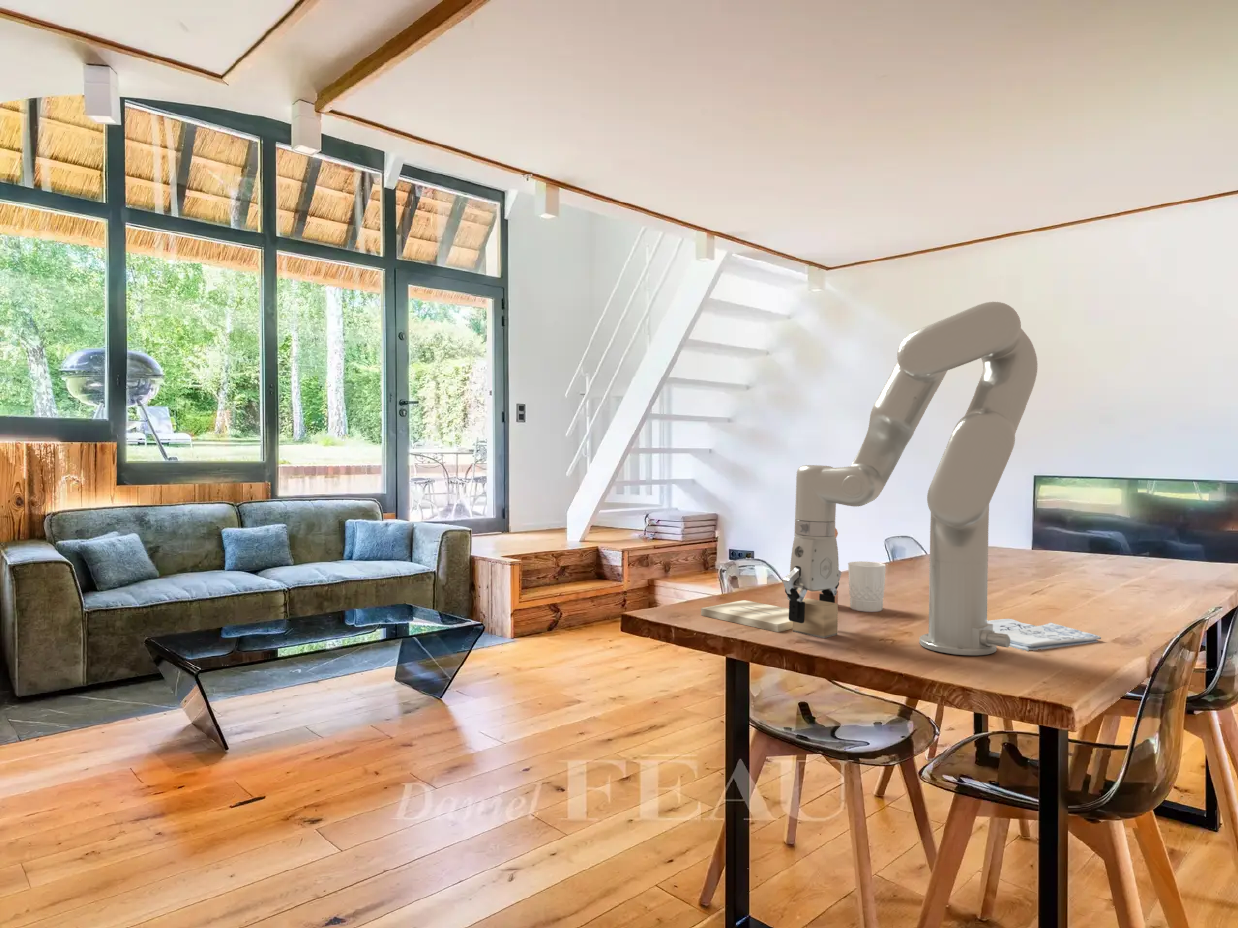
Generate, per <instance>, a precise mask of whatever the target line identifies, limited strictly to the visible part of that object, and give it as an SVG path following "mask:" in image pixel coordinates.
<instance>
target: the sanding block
mask: <svg viewBox="0 0 1238 928" xmlns="http://www.w3.org/2000/svg"><path fill="white" fill-rule="evenodd" d="M802 602H805V620H804V623H797V622H793V629H792V632H793V633H797V634H803V635H807V636H811V637H812V636H813V637H817V638H821V639H826V638H830V637H833V636H837V635H838V625H839V624H838V620H839V619H838V613H839V610H838V609H839V608H838V607H839V603H838V604H837V603H832V602H826V601H820V600H814V599H808V598H806V599H805V598H804V599H803V601H802Z"/></svg>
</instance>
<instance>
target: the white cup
mask: <svg viewBox="0 0 1238 928" xmlns="http://www.w3.org/2000/svg"><path fill="white" fill-rule="evenodd" d="M886 566H887V565H886V564H885V563H882V562H877V561H876V562H875V561H849V562H848V563H847V567H848V569H847V570H848V588H849V601H850V602H849V605H850V607H849V608H850V609H852V610H853V611H859V612H865V613H866V612H867V613H876V612H881V611H882V610H884V609H883V608H884V597H885V596H884V595H885V585H886V584H885V580H886Z"/></svg>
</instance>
